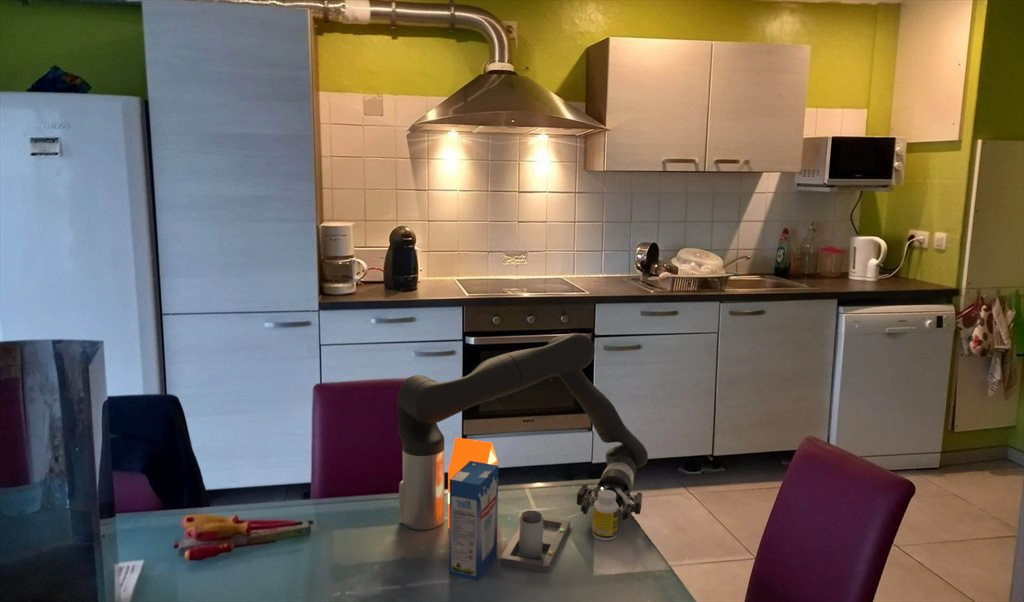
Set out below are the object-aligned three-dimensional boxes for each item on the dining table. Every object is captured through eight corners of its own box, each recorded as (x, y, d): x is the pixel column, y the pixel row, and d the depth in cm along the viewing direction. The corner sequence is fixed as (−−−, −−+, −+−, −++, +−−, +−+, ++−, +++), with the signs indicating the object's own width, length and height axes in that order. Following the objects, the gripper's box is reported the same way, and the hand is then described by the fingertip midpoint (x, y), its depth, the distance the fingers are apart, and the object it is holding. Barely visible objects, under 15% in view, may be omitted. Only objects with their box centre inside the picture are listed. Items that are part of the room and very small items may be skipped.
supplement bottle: (616, 542, 161) (618, 500, 159) (591, 539, 162) (592, 497, 160) (617, 530, 166) (619, 489, 164) (593, 527, 167) (595, 486, 165)
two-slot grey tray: (500, 564, 151) (500, 556, 151) (526, 520, 170) (527, 512, 170) (548, 573, 148) (548, 564, 148) (569, 527, 167) (570, 519, 167)
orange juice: (484, 536, 163) (486, 449, 159) (447, 528, 165) (447, 443, 162) (496, 520, 170) (498, 436, 166) (460, 513, 173) (461, 431, 169)
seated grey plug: (516, 560, 153) (517, 518, 151) (522, 548, 158) (523, 508, 156) (538, 564, 152) (540, 522, 150) (544, 552, 156) (545, 511, 154)
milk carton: (478, 581, 145) (479, 484, 141) (448, 574, 147) (449, 479, 143) (496, 556, 154) (498, 465, 151) (469, 550, 156) (470, 460, 153)
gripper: (587, 464, 178) (572, 492, 162) (647, 472, 174) (638, 502, 158) (585, 493, 179) (571, 524, 164) (645, 502, 175) (636, 534, 160)
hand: (604, 513), depth 161 cm, fingers open, 8 cm apart
